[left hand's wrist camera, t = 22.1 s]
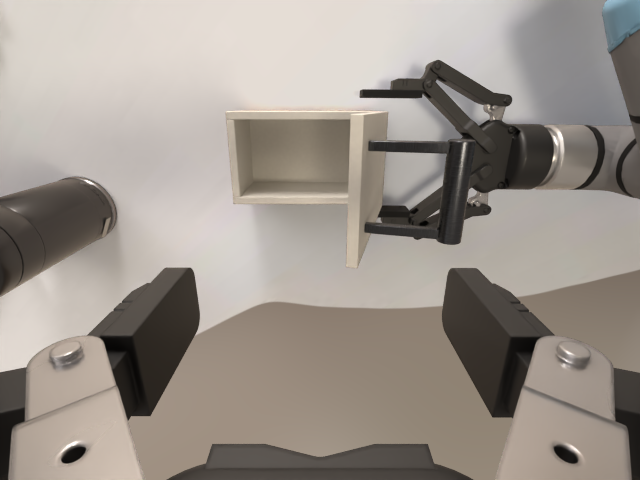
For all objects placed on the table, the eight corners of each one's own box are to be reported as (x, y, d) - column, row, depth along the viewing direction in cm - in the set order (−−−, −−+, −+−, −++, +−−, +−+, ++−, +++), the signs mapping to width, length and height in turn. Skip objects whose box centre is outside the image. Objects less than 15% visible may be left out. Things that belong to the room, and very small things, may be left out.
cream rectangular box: (249, 186, 50) (233, 204, 41) (243, 110, 46) (225, 111, 37) (367, 186, 50) (377, 204, 41) (371, 110, 46) (383, 111, 37)
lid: (345, 267, 25) (461, 280, 23) (350, 114, 21) (488, 114, 19) (375, 204, 41) (444, 209, 39) (380, 111, 37) (457, 111, 35)
